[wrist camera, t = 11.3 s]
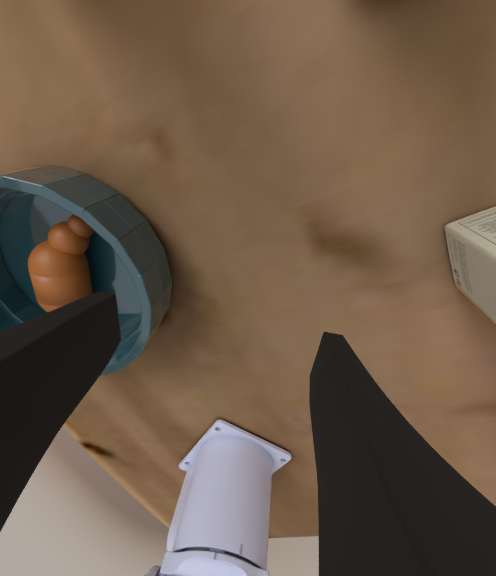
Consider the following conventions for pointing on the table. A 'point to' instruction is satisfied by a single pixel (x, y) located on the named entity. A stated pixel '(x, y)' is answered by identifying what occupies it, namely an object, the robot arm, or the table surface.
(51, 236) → the croissant
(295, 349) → the table surface
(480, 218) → the cosmetic box
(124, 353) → the bowl
